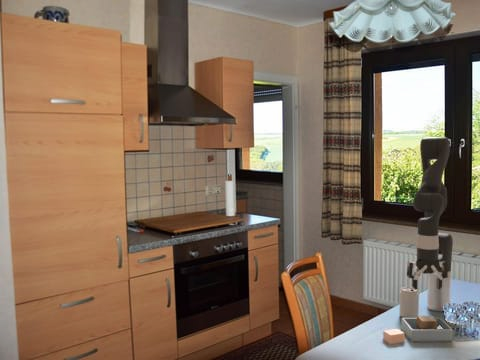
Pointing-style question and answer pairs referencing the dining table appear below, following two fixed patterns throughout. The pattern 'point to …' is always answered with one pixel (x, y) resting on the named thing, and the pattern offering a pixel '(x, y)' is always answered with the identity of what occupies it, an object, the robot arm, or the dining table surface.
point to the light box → (393, 336)
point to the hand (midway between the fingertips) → (426, 288)
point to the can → (409, 302)
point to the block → (426, 323)
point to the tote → (427, 331)
